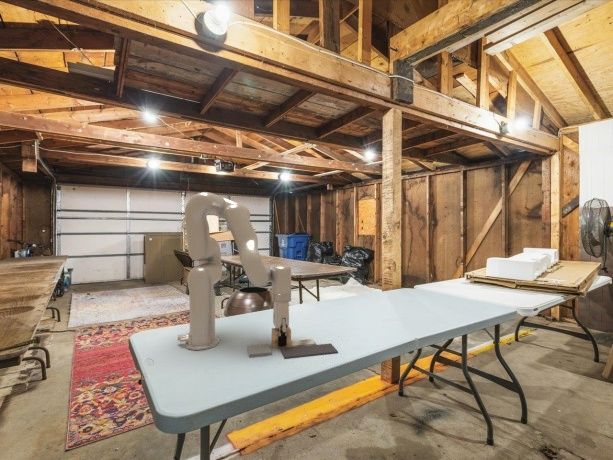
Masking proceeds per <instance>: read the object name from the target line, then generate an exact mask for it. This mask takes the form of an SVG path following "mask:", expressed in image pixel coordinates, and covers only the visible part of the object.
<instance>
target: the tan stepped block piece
mask: <svg viewBox="0 0 613 460" xmlns="http://www.w3.org/2000/svg"><path fill="white" fill-rule="evenodd" d="M281 331H282V330H281ZM286 335H287V345H286V346H280V347H279V346H278V336H279V328H278V329H276V328H275V327H272V328H271V346H272V349H281V348H289V347H299V346H310V345H317V343H316V341H315V339H314V338H307V339H296V340H292V330H291V328H290V326H289V327H288V328H286Z"/></svg>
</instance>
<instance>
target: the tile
mask: <svg viewBox="0 0 613 460" xmlns="http://www.w3.org/2000/svg"><path fill="white" fill-rule="evenodd" d="M246 348H247V353H248V358H250V359H252V358H259V357H261V358H262V357H268V356H269V357H270V356H272V355H273V354H272V353H273V352H272V349H271V347H270V344H269V343H265V344H264V343H263V344H256V345H253V344H252V345H247V347H246Z"/></svg>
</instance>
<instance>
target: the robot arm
mask: <svg viewBox="0 0 613 460" xmlns="http://www.w3.org/2000/svg"><path fill="white" fill-rule="evenodd" d="M208 215H212V216H215V217H218V218H220V219H223V220H225V222H226V224H227V226H228V229H229V231H230V233H231V235H232V238H233V240H234V242H235V244H236V247H237V253H238V256H239V260H240V263H241V266H242V268H243V269H242V270H243V271H244V272H245V275H246V277H247V279H248V281H249V282H250V283H251V285H253V286H254V287H256V288H257V287H258V288H260V287H264V286H265V285H267V284H268V283H271V302H272V303H273V312H272V322H273V323H272V324H273V325H274V328H276V329H278V328H279V336H278V346H279V347H280V346H286V345H287V335H286V328H288V327H290V308H289V307H290V306H289V305H290V304H289V303H290V302H292V268H291V266H290V265H285V264H278V265H275V264H274V265H273V264H267V263H266V264H265V263H263V261H262V257H261V255H260V252H259V249H258V244H259V243H258V242H259V240H258V238H259V237H258V236H257V233H256V231H255V229H254V227H253V225H252V223H251V221H250V218H251V211H250V210H249V208H248V207H246V206H245V205H243V204H240V203H238V202H235V201H232V200H230V199H228V198H226V197H223V196H221V195H219V194H216V193H215V194H214V193H212V192H207V191H202V192H201V191H200V192H198V193H196V194H194V195H192V197H191V198H189V200H188V201H187V203H186V205H185V207H184V218H185V219H184V220H185V229H186V240H187V241H186V242H187V251H188V255H189V257H190V258H191V260H193V261H195V262H199V264H197V265H195V266H193V268H191V269H190V271H189V273H188V275H187V287H188V288H187V289H188V293H189V332H188V333H186V334H178V335H177V341H179V342H180V343H182V342H185V348H186V349H188V350H193V351H203V350H208V349H212V348H215V347H216V346H218V345H219V343H220V338H218V336H216V296H215V288H214V285H215V284H217V283H218V282H219V281H220V280H221V278H222V275H223V265H222V255H221V247H220V244H219V242H218V241H217V239H215V238H214V237H212V236H211V234H210V226H209V225H210V224H209V222H208V217H207V216H208ZM281 330H282V331H281Z"/></svg>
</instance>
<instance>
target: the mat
mask: <svg viewBox="0 0 613 460" xmlns="http://www.w3.org/2000/svg"><path fill="white" fill-rule="evenodd" d="M280 352H281V354H282V357H283V359H284V360H286V359H296V358H305V357H314V356H324V355H333V354H338V353H339V351H338V350H337V348H336V347H335V346H334V345H333V344H332V343H321V344H316V345H310V346H299V347H282V348H280Z"/></svg>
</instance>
